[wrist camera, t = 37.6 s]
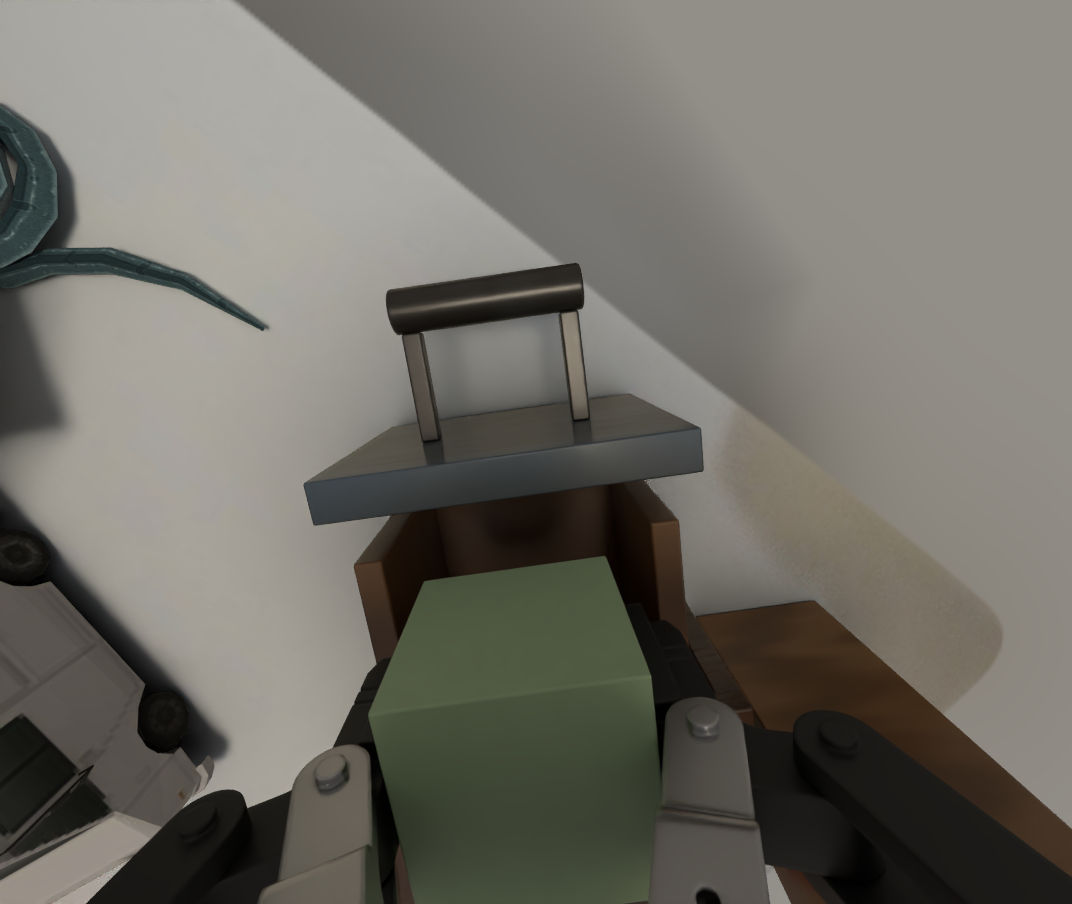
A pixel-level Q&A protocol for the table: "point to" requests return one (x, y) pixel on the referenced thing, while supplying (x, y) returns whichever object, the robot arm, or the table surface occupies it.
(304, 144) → the table surface
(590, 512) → the drawer
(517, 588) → the block
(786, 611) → the stand
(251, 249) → the table surface
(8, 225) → the stylized snake
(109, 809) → the toy truck
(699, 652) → the cabinet
